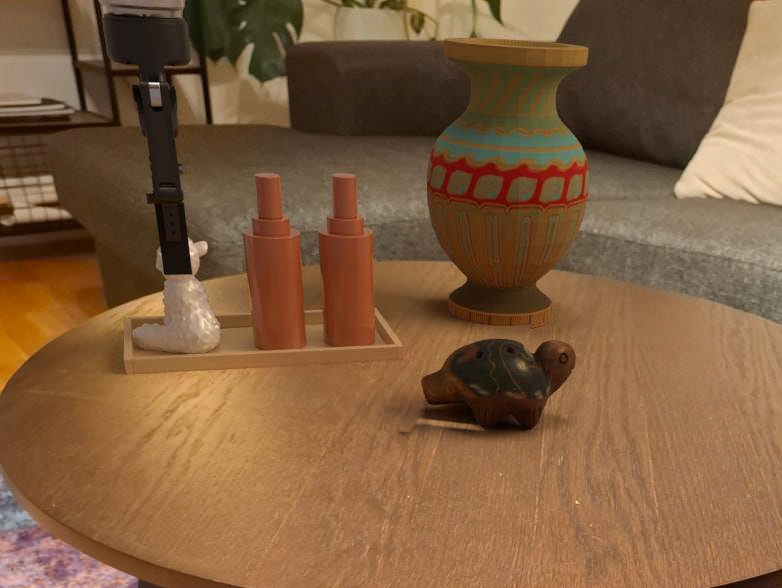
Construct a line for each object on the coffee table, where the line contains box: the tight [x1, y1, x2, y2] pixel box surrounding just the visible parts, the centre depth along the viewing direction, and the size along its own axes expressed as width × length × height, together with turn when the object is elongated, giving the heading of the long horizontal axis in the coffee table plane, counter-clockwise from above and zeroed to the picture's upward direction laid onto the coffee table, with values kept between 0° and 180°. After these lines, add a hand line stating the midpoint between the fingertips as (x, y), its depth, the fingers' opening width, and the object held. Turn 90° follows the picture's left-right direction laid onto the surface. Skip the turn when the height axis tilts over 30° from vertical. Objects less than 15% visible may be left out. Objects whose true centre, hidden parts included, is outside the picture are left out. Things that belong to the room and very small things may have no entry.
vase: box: [426, 37, 590, 329], centre depth 110 cm, size 20×20×30 cm
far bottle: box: [317, 172, 376, 347], centre depth 101 cm, size 6×6×18 cm
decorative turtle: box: [420, 338, 577, 430], centre depth 88 cm, size 10×15×8 cm, turn 103°
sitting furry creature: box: [132, 236, 221, 354], centre depth 98 cm, size 10×9×12 cm
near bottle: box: [242, 172, 307, 351], centre depth 98 cm, size 6×6×18 cm
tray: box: [122, 307, 405, 376], centre depth 103 cm, size 30×15×2 cm, turn 107°
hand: (175, 257), depth 95 cm, fingers open, 13 cm apart
